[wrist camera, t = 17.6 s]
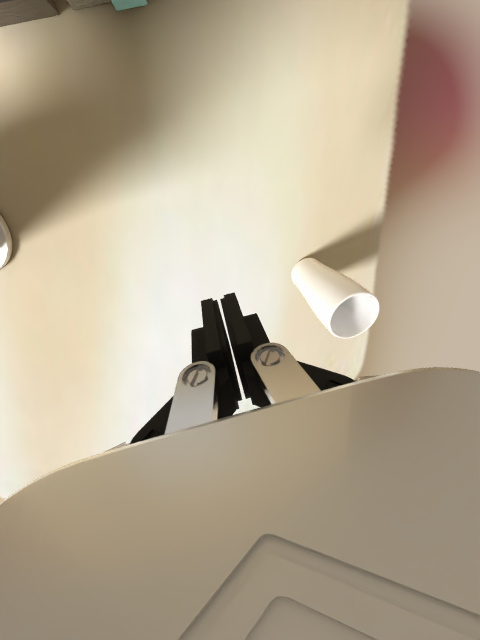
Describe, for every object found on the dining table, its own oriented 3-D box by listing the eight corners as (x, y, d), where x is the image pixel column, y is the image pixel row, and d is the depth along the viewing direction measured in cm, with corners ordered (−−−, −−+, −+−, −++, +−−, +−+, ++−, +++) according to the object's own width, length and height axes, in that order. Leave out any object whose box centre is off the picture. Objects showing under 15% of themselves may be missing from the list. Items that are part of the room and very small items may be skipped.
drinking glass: (306, 244, 39) (360, 280, 27) (331, 266, 42) (391, 309, 30) (278, 276, 42) (316, 324, 29) (304, 296, 45) (349, 347, 32)
